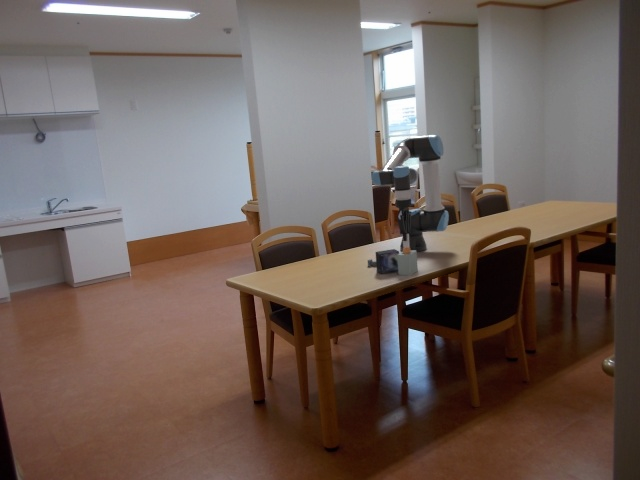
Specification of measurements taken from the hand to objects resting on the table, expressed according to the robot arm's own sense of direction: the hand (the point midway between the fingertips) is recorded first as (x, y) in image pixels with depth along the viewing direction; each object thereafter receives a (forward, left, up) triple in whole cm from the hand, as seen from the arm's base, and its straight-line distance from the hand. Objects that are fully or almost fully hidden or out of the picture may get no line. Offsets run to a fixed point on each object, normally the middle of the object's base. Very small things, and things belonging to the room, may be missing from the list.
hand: (406, 247), depth 265 cm
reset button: (0, 0, -6) cm, 6 cm away
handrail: (-10, -15, -13) cm, 22 cm away
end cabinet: (0, 0, -13) cm, 13 cm away
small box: (0, -11, -13) cm, 17 cm away
